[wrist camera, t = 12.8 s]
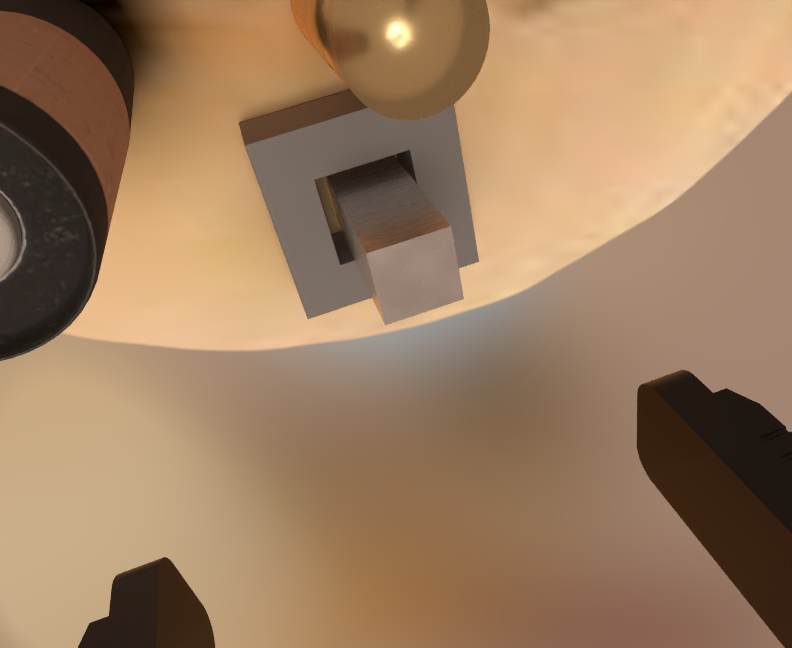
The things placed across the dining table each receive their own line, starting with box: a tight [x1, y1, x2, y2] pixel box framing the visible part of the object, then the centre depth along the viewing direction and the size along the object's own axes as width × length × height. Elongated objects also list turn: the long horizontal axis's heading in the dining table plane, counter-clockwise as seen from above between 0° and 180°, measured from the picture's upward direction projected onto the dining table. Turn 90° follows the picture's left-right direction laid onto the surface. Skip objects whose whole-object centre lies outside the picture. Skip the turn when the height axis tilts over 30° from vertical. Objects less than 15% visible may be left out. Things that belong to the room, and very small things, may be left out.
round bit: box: [291, 0, 490, 120], centre depth 29 cm, size 6×6×12 cm
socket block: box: [239, 89, 479, 319], centre depth 38 cm, size 11×11×4 cm
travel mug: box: [0, 0, 134, 361], centre depth 24 cm, size 8×8×20 cm
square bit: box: [323, 155, 464, 325], centre depth 35 cm, size 4×4×12 cm
